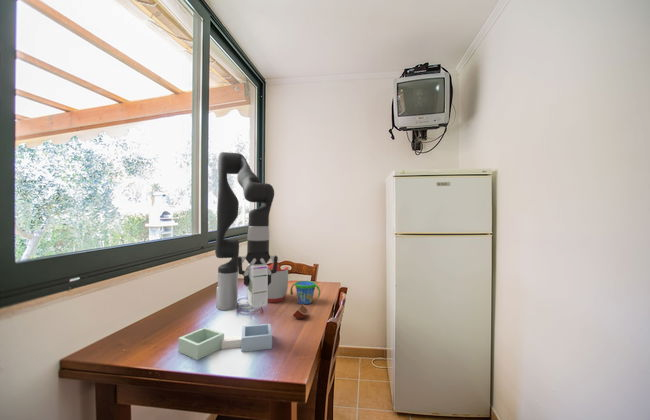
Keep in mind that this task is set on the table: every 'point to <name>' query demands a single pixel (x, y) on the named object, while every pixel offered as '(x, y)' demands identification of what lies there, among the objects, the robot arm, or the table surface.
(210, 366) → the table surface
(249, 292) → the syrup box
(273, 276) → the citrus juicer
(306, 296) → the snack cup
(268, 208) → the robot arm
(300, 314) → the fruit slice
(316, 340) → the table surface
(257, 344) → the holder caddy
